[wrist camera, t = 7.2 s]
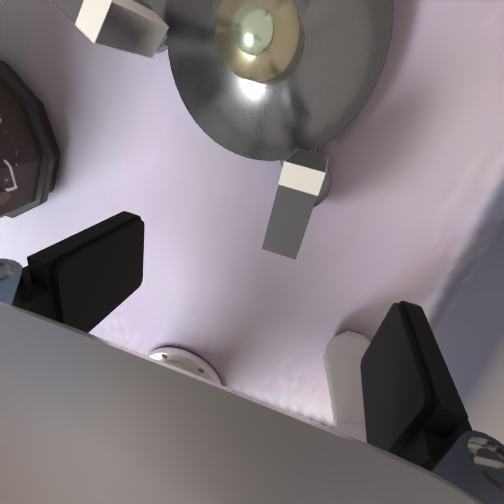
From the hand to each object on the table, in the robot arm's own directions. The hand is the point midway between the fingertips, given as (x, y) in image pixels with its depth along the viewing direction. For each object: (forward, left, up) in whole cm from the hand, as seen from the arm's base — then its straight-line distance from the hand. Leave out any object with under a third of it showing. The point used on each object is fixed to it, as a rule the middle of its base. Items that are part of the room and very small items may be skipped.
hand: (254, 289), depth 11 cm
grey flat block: (0, 0, -17) cm, 17 cm away
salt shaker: (-9, -17, -18) cm, 26 cm away
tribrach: (+7, +9, -18) cm, 21 cm away
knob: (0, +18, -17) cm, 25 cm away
